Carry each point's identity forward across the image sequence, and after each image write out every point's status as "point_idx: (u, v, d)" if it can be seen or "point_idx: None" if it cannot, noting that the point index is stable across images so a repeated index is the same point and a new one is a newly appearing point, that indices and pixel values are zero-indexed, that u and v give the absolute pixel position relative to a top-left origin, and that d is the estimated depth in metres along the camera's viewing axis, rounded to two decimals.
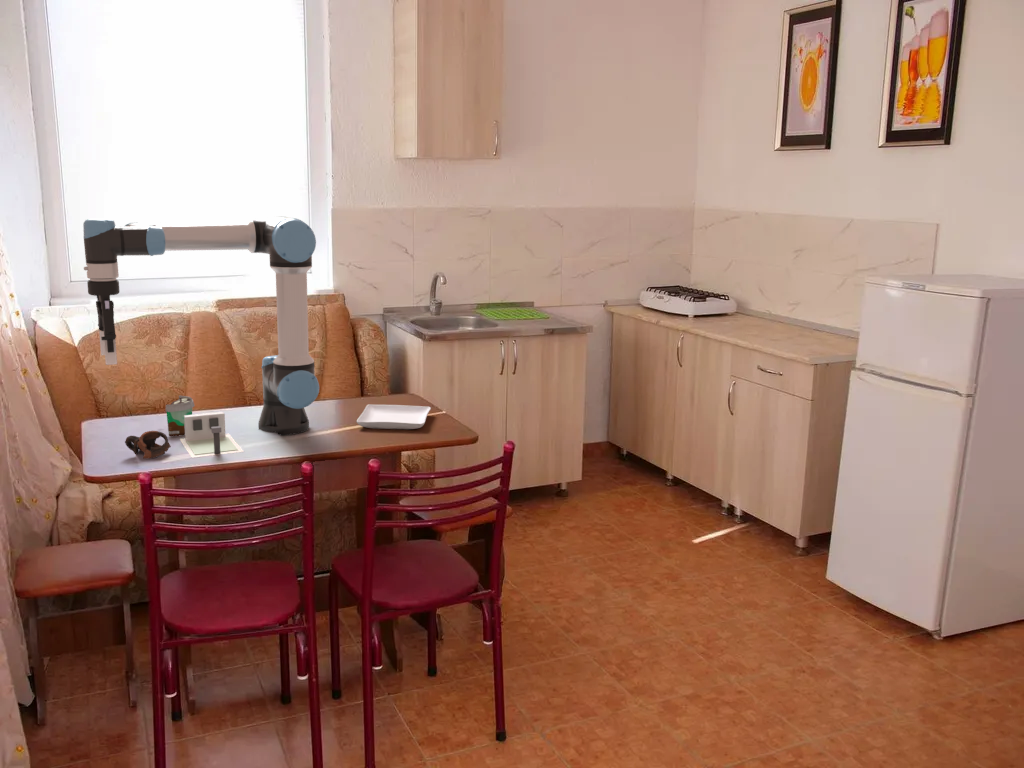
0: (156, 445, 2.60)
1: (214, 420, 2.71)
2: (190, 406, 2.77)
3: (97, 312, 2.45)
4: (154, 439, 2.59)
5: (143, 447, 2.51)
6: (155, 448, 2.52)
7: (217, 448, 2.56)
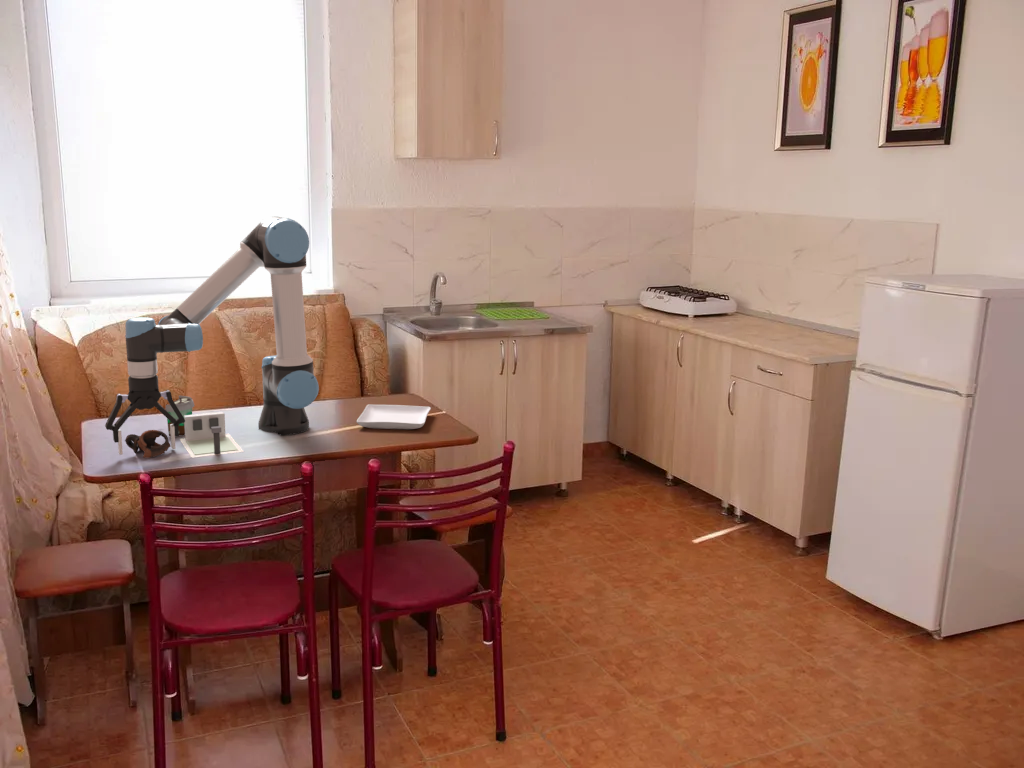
0: (156, 444, 2.61)
1: (214, 420, 2.71)
2: (190, 406, 2.77)
3: None
4: (154, 438, 2.60)
5: (143, 446, 2.52)
6: (155, 447, 2.52)
7: (217, 448, 2.56)
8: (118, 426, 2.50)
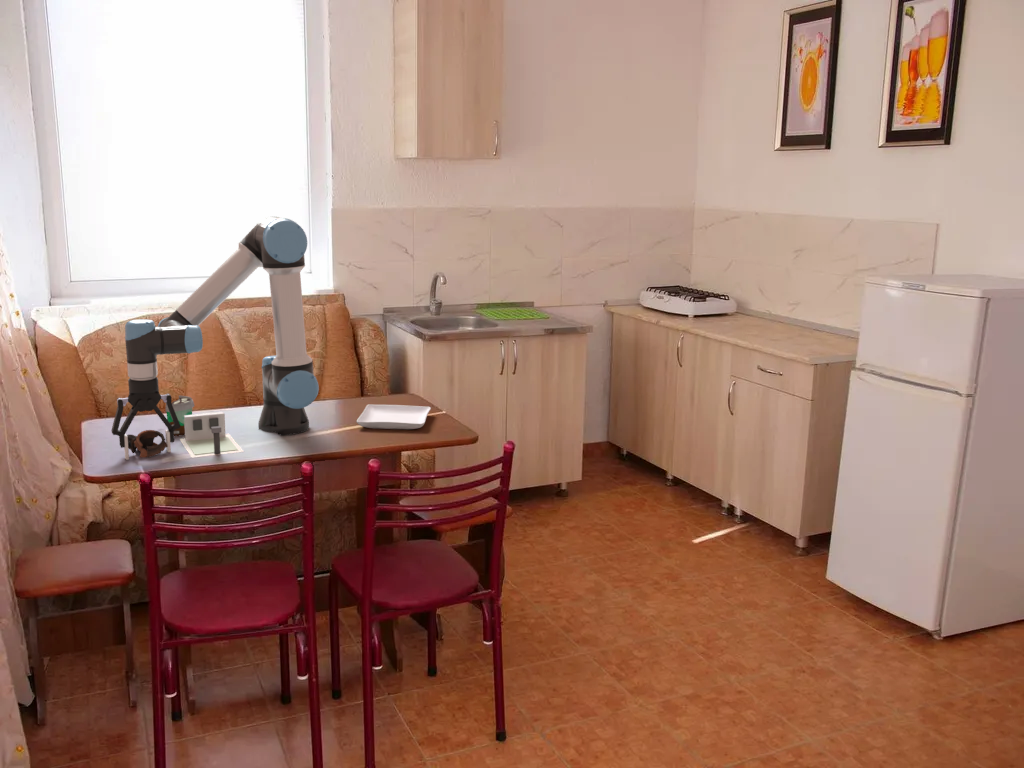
0: (154, 444, 2.61)
1: (214, 420, 2.71)
2: (190, 406, 2.77)
3: None
4: (152, 438, 2.60)
5: (139, 446, 2.52)
6: (151, 447, 2.52)
7: (217, 448, 2.56)
8: (124, 431, 2.51)
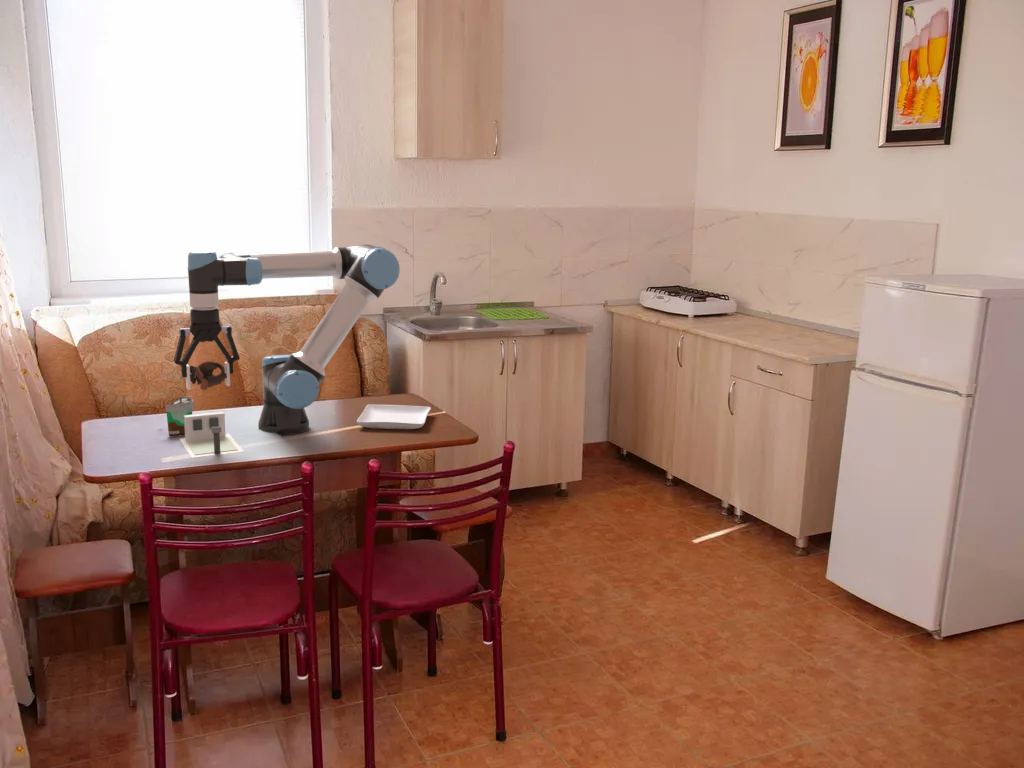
0: None
1: (214, 420, 2.71)
2: (190, 406, 2.77)
3: None
4: (211, 370, 2.64)
5: (200, 376, 2.56)
6: (212, 377, 2.56)
7: (217, 448, 2.56)
8: (186, 361, 2.55)
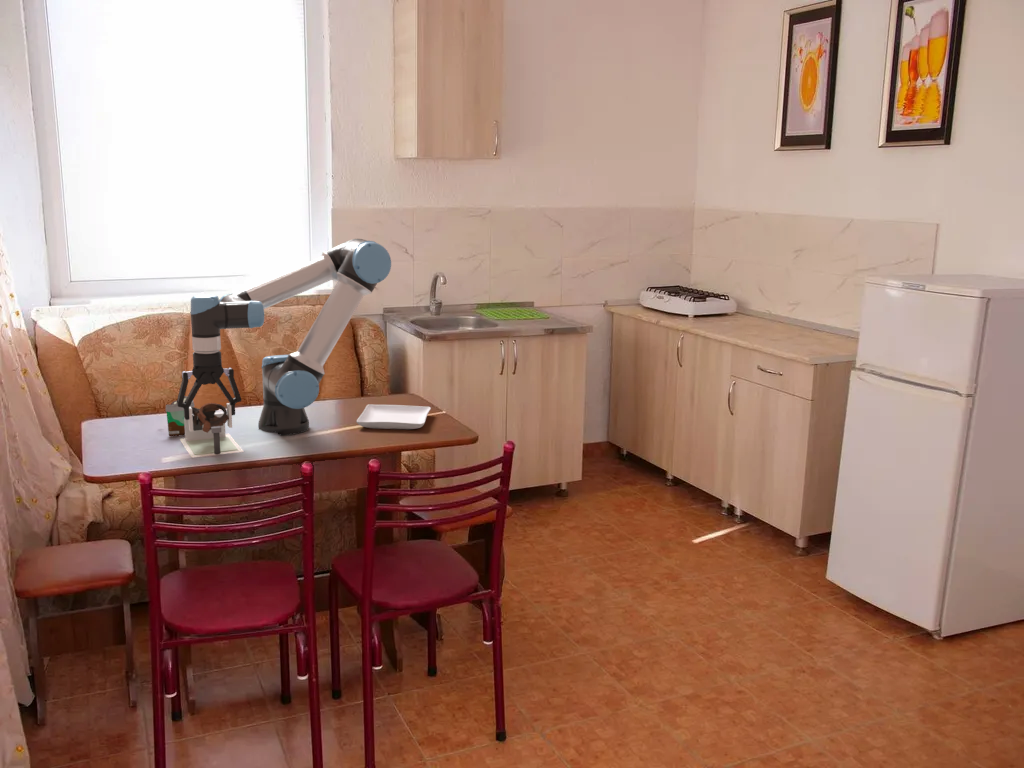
0: (215, 417, 2.68)
1: None
2: (190, 406, 2.77)
3: (216, 381, 2.63)
4: (213, 411, 2.67)
5: (203, 418, 2.59)
6: (214, 419, 2.59)
7: (217, 448, 2.56)
8: (188, 403, 2.58)
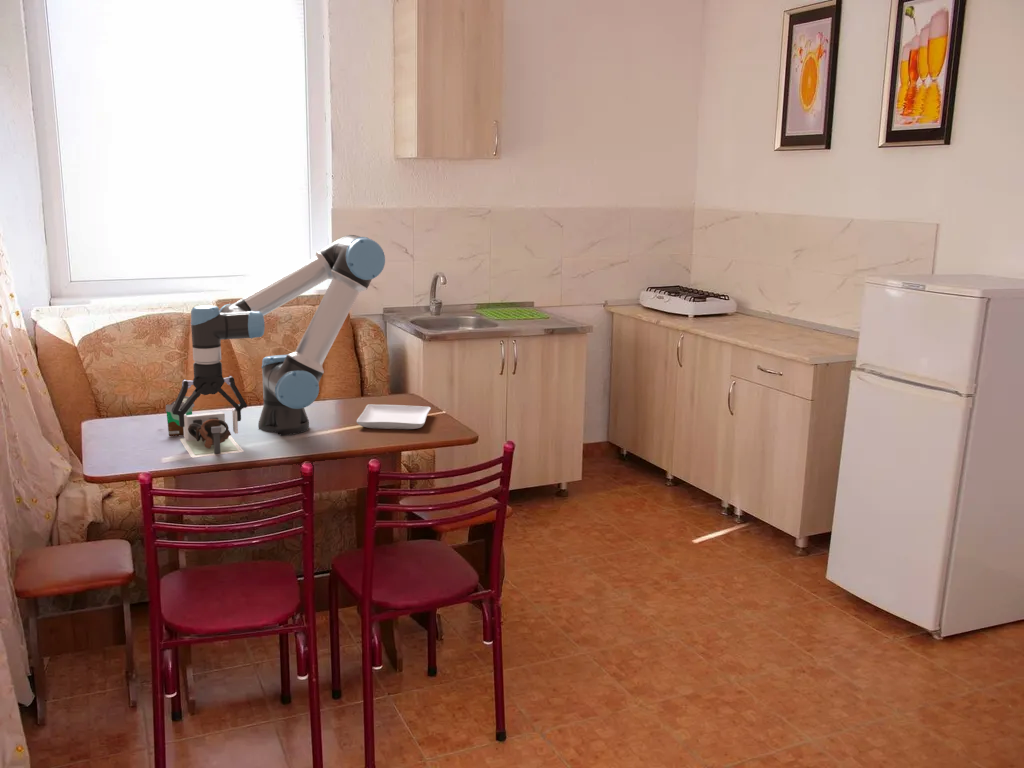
0: None
1: None
2: None
3: None
4: None
5: (204, 434, 2.60)
6: None
7: (217, 448, 2.56)
8: (184, 411, 2.58)
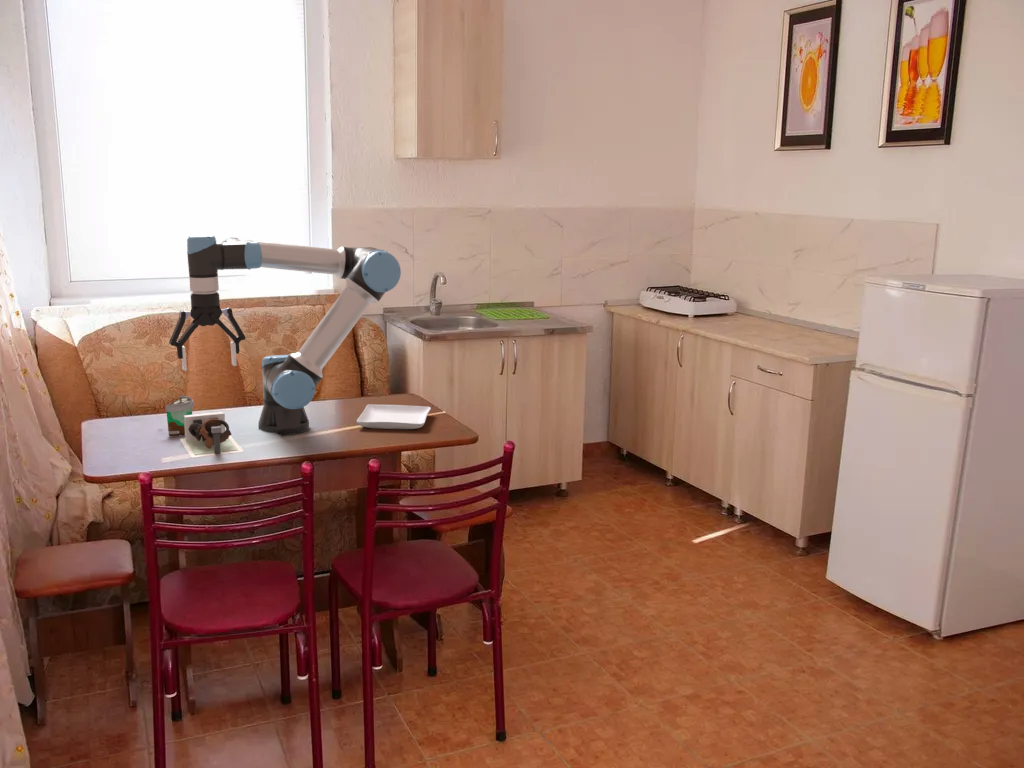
0: None
1: None
2: (190, 406, 2.77)
3: (216, 322, 2.61)
4: None
5: (205, 434, 2.60)
6: None
7: (217, 448, 2.56)
8: (182, 342, 2.55)
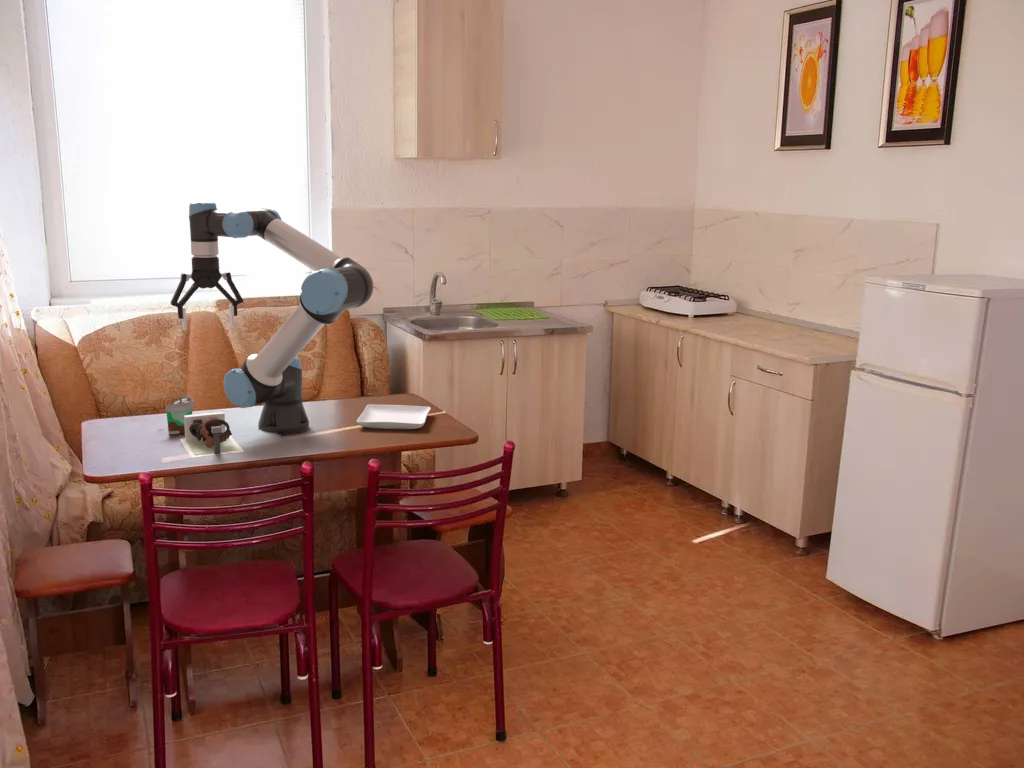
0: None
1: None
2: (190, 406, 2.77)
3: (215, 286, 2.75)
4: None
5: (206, 434, 2.60)
6: None
7: (217, 448, 2.56)
8: (183, 303, 2.69)
